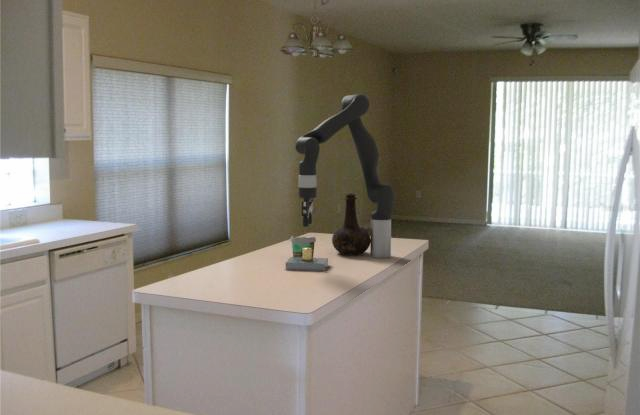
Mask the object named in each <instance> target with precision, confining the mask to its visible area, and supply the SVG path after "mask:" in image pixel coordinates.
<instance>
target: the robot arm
mask: <svg viewBox="0 0 640 415" xmlns="http://www.w3.org/2000/svg"><path fill="white" fill-rule="evenodd" d="M369 109H370V101H369V98H368V97H367V96H366V95H364V94H360V93H359V94H349V95H345V96H344V97H343V98H342V100H341V111H340V112H339V113H336V114H334V115H333V116H330V117H329V118H327V119H325V120H324V121H322V122H321V123H320V124H319V125H318V126H316V127H315V128H314V129H313V130H311V131H309V132H307V133H305V134H304V135H302V136H300V137H299V138H298V139H297V140H296V142H295V150H296V152H297V153H298V154H300V155H304V157H303V160H301V161H299V163H298V183H297V184H298V185H297V186H298V188H297V189H298V192H297V193H298V195H297V196H298V198H300V199H303V201H301V217H302V226H303V227H307V228H308V227H309V225H311V224H312V223H313V213H314V199H315V198H317V195H318V194H317V191H318V189H317V186H318V185H317V162H318V160H319V153H320V150H321V148H320V147H321V146H320V144H321V145H322V144H324V143H326V142H327V141H329V139H331V138H332V137H333V136H334V135H336V133H337V132H339V131H340V130H342V129H344V127H346V126H348V128H349V130H350V134H351V138H352V140H353V144H354V146H355V150H356V155H357V157H358V160H359V163H360V167H361V171H362V175H363V178H364V183H365V188H366V194H367V198H368V200H369V201H370V203H373V204H377V208H376V210H374V211H372V212H371V214H370V239H371V242H370V250H369V251H370V252H369V253H370V257H371V258H376V259H377V258H378V259H387V258H390V259H391V257H392V216H393V214H394V206H395V204H394V203H395V192H394V188H393V186H391V185H390V184H387V183H381V182H380V179H379V176H378V165H379V161H380V154H379V149H378V147H377V143H376V140H375V138H374V137H373V136H372V134H371V133H370V132H369V131H368V129H367V128H366V127H365V126H364V124H363V122H362V121H363V120H362V118H361V117H362V116H364V115H365V114H366V113H368V111H369Z"/></svg>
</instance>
